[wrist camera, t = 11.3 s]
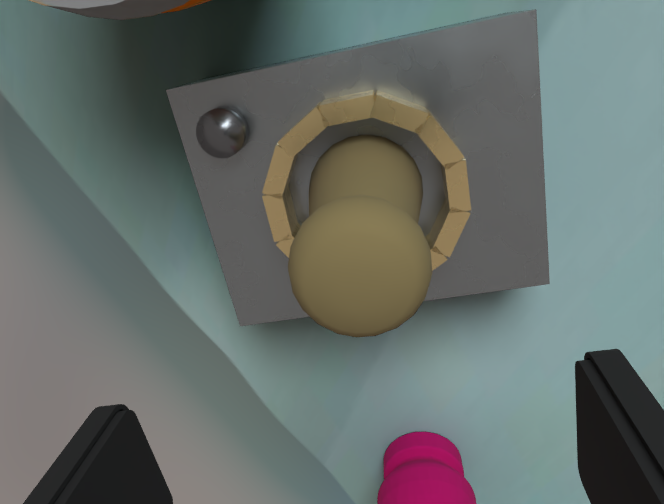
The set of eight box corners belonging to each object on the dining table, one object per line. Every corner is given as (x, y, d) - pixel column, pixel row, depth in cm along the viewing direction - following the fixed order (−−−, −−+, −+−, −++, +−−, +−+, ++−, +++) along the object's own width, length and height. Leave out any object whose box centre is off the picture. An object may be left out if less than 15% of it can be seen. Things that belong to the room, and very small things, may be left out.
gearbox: (203, 79, 31) (149, 94, 24) (506, 12, 29) (549, 7, 21) (261, 281, 37) (231, 344, 29) (522, 242, 34) (561, 301, 27)
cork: (435, 229, 28) (467, 344, 18) (328, 256, 29) (301, 379, 19) (407, 119, 26) (425, 179, 15) (293, 153, 27) (241, 230, 17)
